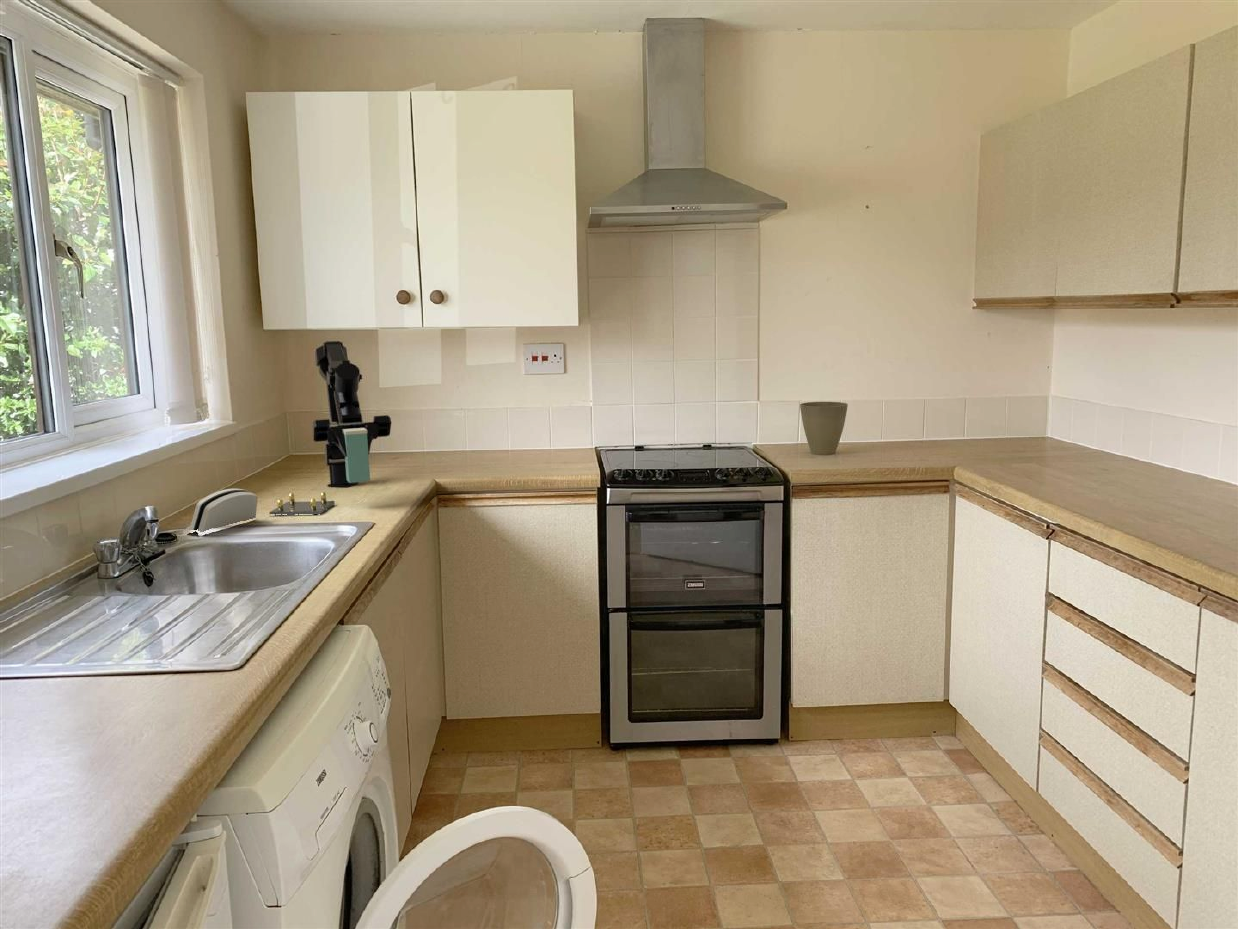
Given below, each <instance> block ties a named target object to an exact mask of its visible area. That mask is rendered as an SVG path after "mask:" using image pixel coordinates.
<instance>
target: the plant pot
mask: <svg viewBox="0 0 1238 929" xmlns="http://www.w3.org/2000/svg"><path fill="white" fill-rule="evenodd" d="M848 406H849V405H848V403H847V402H841V401H809V402H801V403H800V404H799V410H800V414H801V415H800V416H801V421H802V426H803V430H804V433H805V437H806V441H807V444H808V447H809V449H810V453H811V454H813V455H819V456H828V455H834V454H836V451H837V449H838V446H839V443H840V441H841V438H842V434H843V430H844V427H845V423H846V418H847V411H848V410H847V409H848Z"/></svg>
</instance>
